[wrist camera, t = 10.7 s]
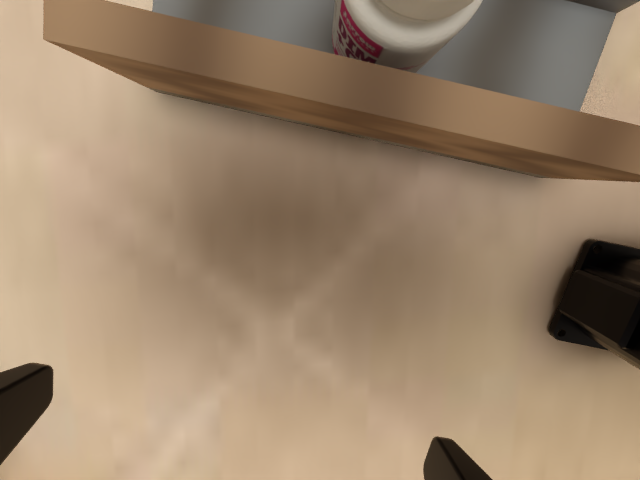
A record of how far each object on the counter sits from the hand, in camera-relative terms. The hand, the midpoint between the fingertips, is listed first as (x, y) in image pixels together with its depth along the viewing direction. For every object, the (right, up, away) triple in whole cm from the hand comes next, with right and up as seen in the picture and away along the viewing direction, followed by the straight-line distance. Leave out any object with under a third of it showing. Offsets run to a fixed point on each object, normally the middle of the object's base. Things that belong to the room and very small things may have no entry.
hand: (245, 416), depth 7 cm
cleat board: (+5, +15, +9) cm, 18 cm away
